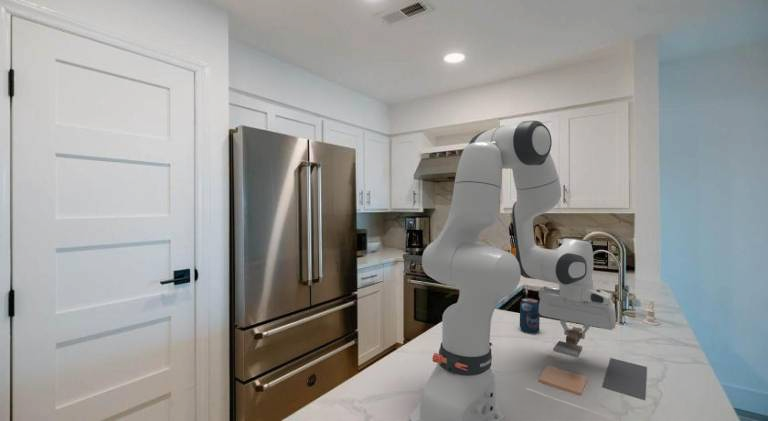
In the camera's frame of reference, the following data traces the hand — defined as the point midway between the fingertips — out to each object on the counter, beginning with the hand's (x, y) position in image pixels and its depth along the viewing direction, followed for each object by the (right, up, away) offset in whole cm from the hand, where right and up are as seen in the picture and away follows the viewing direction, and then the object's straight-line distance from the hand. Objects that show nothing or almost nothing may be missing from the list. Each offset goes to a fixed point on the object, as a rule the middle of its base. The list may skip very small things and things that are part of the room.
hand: (574, 336), depth 100 cm
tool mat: (+10, -9, -8) cm, 15 cm away
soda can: (-2, -8, +26) cm, 28 cm away
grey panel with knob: (-3, -1, -3) cm, 4 cm away
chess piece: (+53, -9, +37) cm, 65 cm away
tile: (-6, -8, -7) cm, 12 cm away
